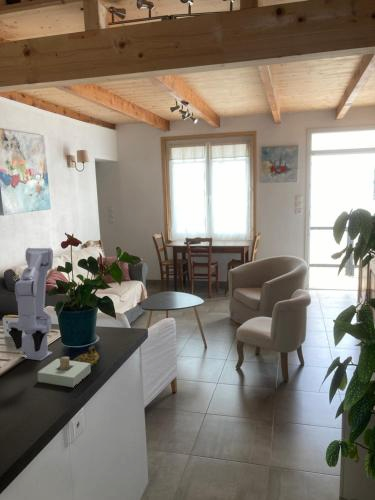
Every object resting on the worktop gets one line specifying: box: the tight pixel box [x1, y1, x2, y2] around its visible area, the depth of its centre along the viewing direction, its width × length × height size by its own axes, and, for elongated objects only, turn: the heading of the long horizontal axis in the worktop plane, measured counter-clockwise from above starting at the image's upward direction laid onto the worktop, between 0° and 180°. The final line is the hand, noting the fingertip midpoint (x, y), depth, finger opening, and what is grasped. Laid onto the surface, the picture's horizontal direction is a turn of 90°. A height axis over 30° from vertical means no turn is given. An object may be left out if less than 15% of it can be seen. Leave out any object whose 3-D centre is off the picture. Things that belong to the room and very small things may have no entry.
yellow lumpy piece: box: [72, 345, 100, 367], centre depth 157 cm, size 9×5×15 cm
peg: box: [59, 356, 70, 371], centre depth 143 cm, size 3×3×7 cm
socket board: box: [37, 358, 92, 388], centre depth 144 cm, size 14×12×4 cm
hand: (28, 349), depth 144 cm, fingers open, 7 cm apart
